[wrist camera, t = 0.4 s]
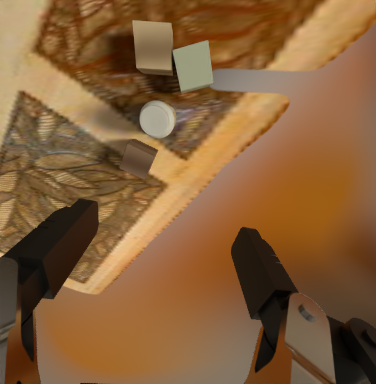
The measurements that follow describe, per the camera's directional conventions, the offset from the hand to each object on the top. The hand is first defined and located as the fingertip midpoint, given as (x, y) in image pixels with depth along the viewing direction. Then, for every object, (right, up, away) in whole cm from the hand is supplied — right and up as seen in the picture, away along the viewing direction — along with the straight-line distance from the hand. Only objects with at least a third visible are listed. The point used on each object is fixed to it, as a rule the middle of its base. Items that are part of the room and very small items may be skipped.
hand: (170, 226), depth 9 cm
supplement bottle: (-4, +16, +22) cm, 28 cm away
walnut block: (-9, +10, +25) cm, 28 cm away
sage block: (+2, +22, +19) cm, 29 cm away
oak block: (-4, +24, +18) cm, 30 cm away
